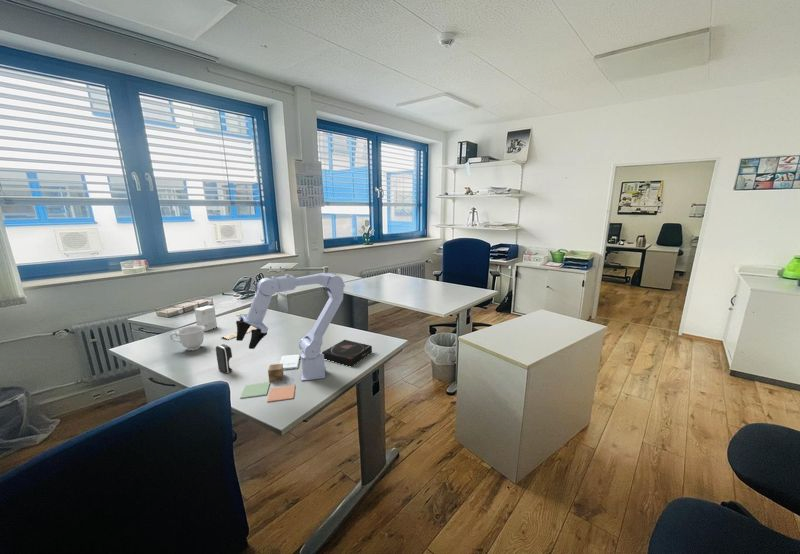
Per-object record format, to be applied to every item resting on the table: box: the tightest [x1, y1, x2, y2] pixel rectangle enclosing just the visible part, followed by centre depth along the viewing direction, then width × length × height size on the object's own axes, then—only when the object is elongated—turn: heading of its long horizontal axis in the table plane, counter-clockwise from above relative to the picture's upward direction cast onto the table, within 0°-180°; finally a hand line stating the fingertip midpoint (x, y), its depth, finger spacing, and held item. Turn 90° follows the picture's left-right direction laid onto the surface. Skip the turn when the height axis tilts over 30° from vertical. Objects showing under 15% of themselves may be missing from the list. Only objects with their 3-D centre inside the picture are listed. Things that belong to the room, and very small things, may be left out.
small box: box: [194, 305, 218, 333], centre depth 187 cm, size 8×6×13 cm
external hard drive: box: [279, 354, 301, 371], centre depth 145 cm, size 2×8×12 cm
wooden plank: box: [220, 326, 256, 340], centre depth 183 cm, size 24×7×2 cm, turn 150°
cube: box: [267, 363, 284, 383], centre depth 132 cm, size 5×5×5 cm
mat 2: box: [266, 384, 296, 403], centre depth 121 cm, size 9×9×1 cm
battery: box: [215, 343, 233, 374], centre depth 138 cm, size 7×4×11 cm, turn 55°
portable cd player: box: [321, 339, 373, 368], centre depth 152 cm, size 16×17×4 cm
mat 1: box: [240, 381, 271, 399], centre depth 123 cm, size 9×9×1 cm
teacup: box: [169, 325, 205, 351], centre depth 160 cm, size 12×15×10 cm
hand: (245, 344), depth 118 cm, fingers open, 7 cm apart
